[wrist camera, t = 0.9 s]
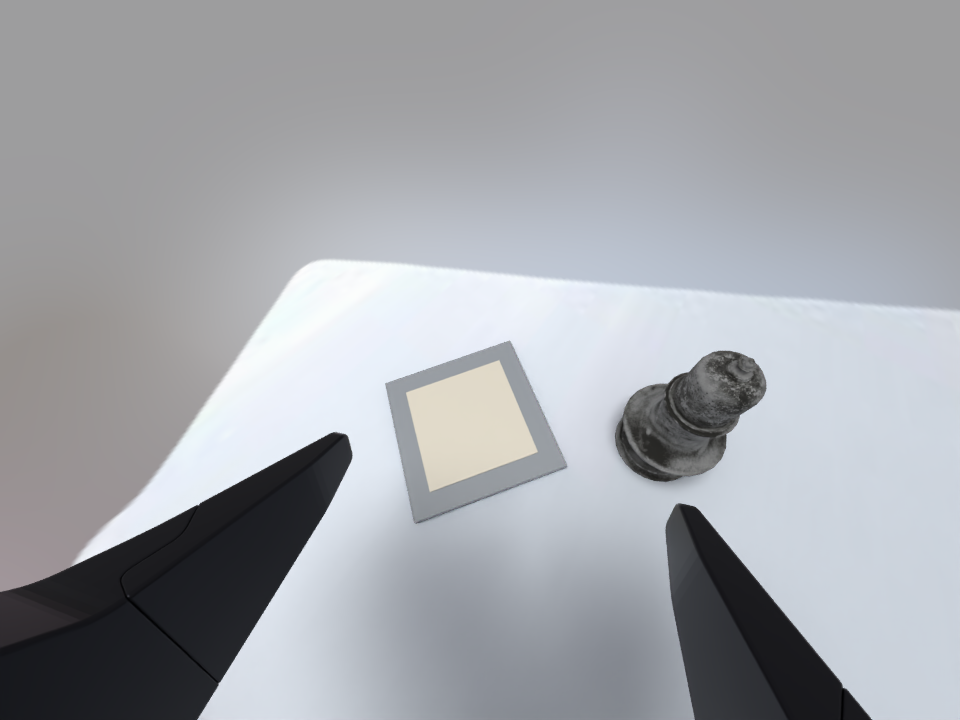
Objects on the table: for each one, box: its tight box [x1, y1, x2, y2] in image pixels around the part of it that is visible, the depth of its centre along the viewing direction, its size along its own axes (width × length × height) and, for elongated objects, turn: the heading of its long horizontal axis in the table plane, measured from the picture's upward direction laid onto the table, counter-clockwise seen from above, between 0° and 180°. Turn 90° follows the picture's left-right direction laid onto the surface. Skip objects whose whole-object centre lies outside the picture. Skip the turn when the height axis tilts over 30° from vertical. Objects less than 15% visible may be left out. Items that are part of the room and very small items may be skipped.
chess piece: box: [615, 351, 766, 482], centre depth 19 cm, size 6×6×12 cm
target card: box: [385, 341, 567, 523], centre depth 26 cm, size 11×11×1 cm
